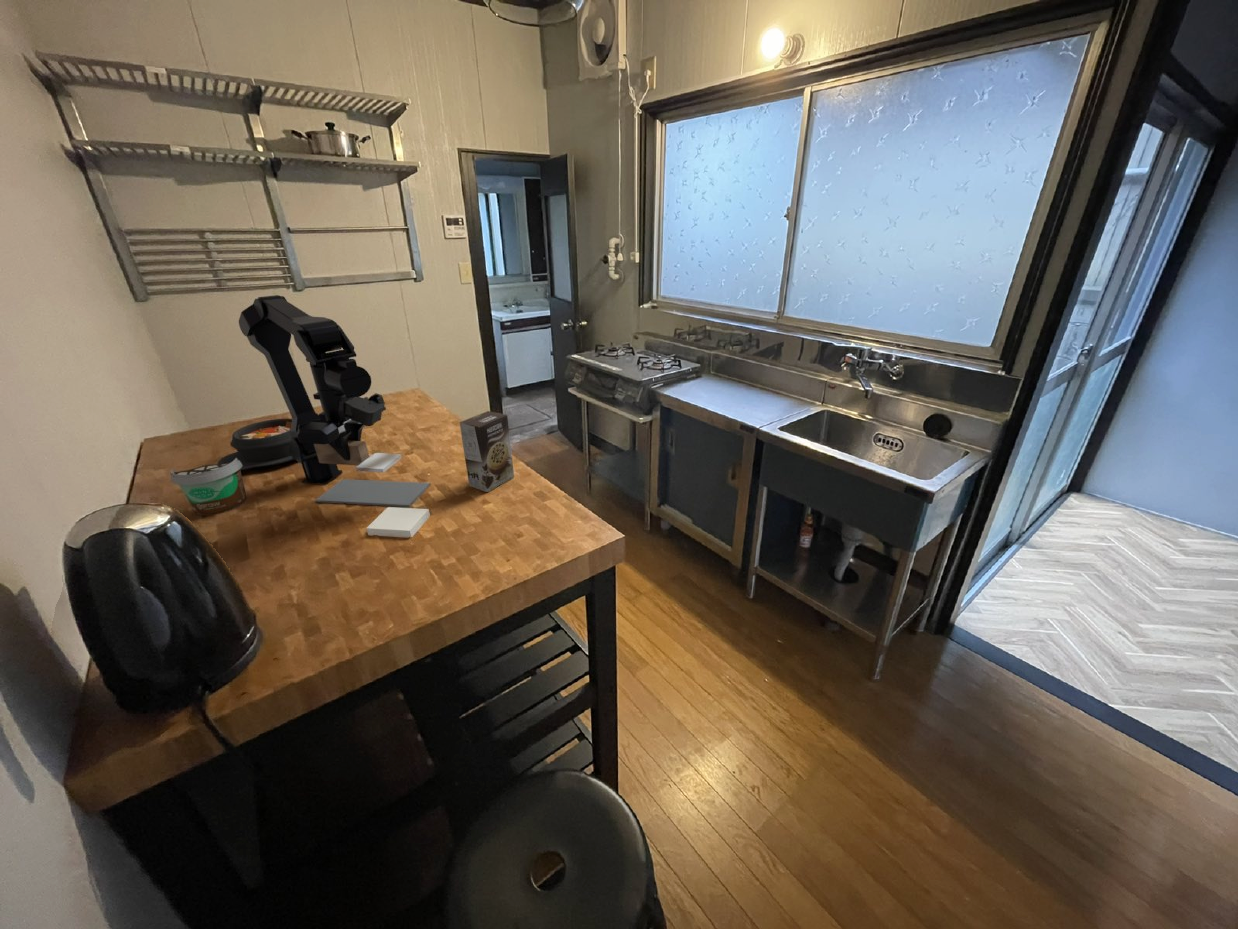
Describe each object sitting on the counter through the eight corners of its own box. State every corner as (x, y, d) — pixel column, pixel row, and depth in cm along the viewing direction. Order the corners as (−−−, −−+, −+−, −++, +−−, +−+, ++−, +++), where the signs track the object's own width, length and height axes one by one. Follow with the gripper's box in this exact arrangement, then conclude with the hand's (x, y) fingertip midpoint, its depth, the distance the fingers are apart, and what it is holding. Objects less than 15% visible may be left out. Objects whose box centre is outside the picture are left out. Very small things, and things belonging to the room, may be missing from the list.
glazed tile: (366, 528, 96) (409, 530, 95) (387, 507, 103) (428, 509, 102) (368, 536, 97) (412, 539, 96) (390, 515, 104) (430, 517, 103)
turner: (312, 467, 102) (306, 448, 100) (334, 453, 108) (328, 434, 106) (383, 472, 100) (378, 452, 98) (401, 457, 106) (397, 438, 104)
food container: (180, 524, 101) (159, 481, 97) (187, 510, 106) (168, 469, 102) (251, 509, 106) (234, 468, 102) (255, 496, 111) (239, 456, 107)
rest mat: (315, 502, 109) (315, 500, 108) (343, 480, 118) (342, 479, 117) (409, 506, 106) (409, 504, 106) (430, 484, 115) (430, 483, 115)
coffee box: (488, 493, 111) (478, 427, 104) (468, 486, 115) (457, 421, 107) (515, 477, 118) (508, 414, 111) (496, 471, 121) (488, 409, 114)
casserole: (315, 434, 144) (307, 407, 140) (340, 452, 133) (332, 423, 129) (212, 463, 128) (199, 433, 124) (230, 485, 116) (217, 453, 113)
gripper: (340, 404, 88) (360, 480, 95) (396, 374, 104) (410, 441, 111) (283, 401, 89) (308, 476, 96) (348, 372, 106) (364, 438, 113)
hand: (352, 457), depth 104 cm, fingers closed on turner, 3 cm apart
